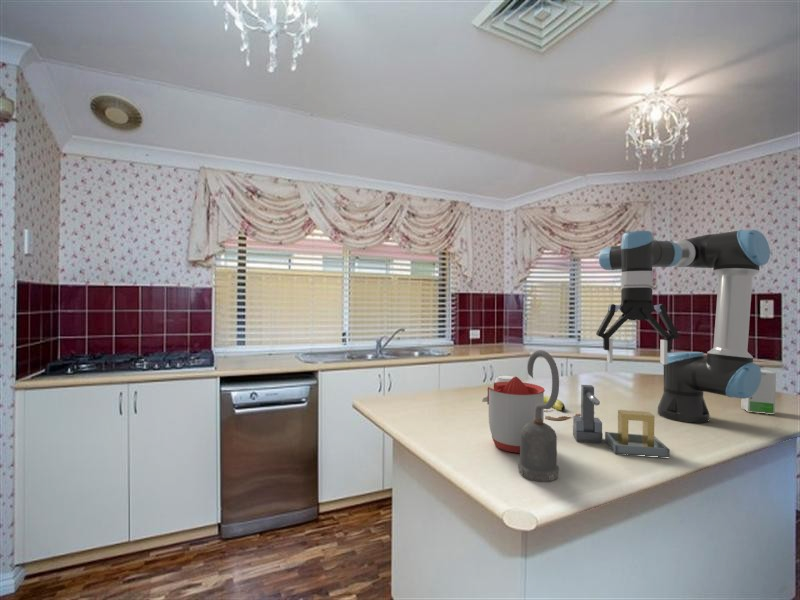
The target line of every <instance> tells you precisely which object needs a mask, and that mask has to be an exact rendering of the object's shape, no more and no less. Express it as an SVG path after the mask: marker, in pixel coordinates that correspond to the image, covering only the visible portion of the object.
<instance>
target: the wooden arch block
mask: <svg viewBox="0 0 800 600" xmlns="http://www.w3.org/2000/svg"><path fill="white" fill-rule="evenodd" d="M629 421H637V422H639V421H640V422H642V435H643V446H645V447H654V436H655V415H654V414H653V413H651V412H650V411H641V410H640V411H639V410H628V409H627V410H626V409H617V433H618V444H621V445H628V434H629Z"/></svg>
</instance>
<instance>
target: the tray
mask: <svg viewBox="0 0 800 600" xmlns="http://www.w3.org/2000/svg"><path fill="white" fill-rule="evenodd" d="M604 441H605V443H607V445H608V446H609V448H610V447H611V448H610V449H611V450H612V451H614V452H613V453H614V455H618V454H626V455H625V456H630V455H645V456H658V457H671V456H670V454H671V451H670V449H671V448H669V447H668V446H666V444H664V443H663V442H662V441H661V440H660V439H659V438H657V436H655V435H654V447H645V446H643V434H640V433H639V434H638V433H628V445H621V444H618V432H613V431H604ZM627 454H628V455H627Z"/></svg>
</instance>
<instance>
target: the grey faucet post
mask: <svg viewBox="0 0 800 600" xmlns="http://www.w3.org/2000/svg"><path fill="white" fill-rule="evenodd" d="M580 389H581V390H580V394H581V395H580V415H581V416H575V415H572V417H573V418H572V421H573V423H572V424H573V425H572V436H573V438H574V440H575V441H576V443H585V444H586V443H587V444H588V443H589V444H601V445H603V437H604V436H603V422H602V421H601V420H600V418H599V417H595V406H599V405H600V404H601V403H600V400H599V399H598V398H597V397H596V396H595V386H593V385H591V384H581V385H580Z"/></svg>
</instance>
